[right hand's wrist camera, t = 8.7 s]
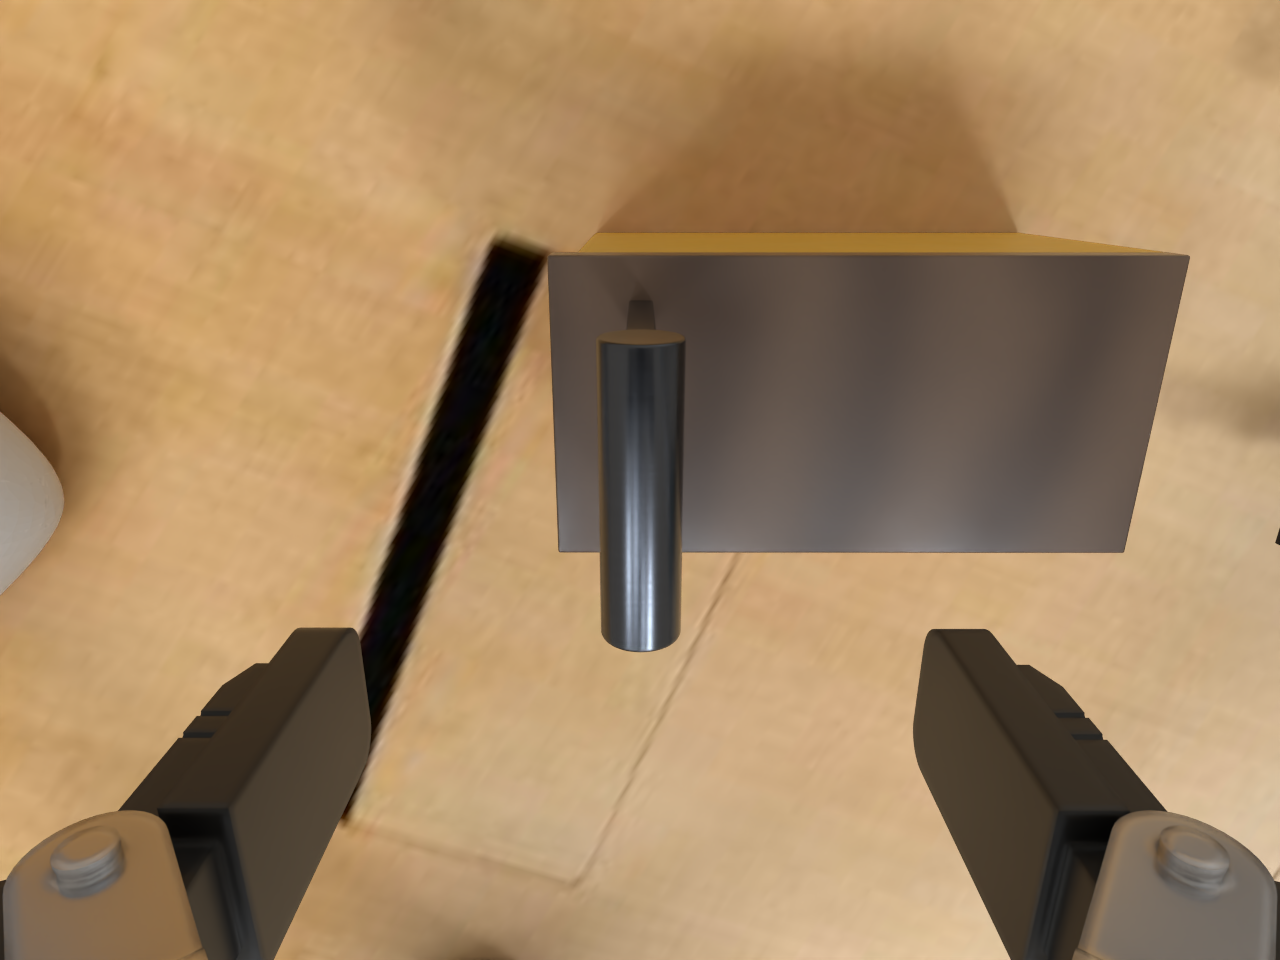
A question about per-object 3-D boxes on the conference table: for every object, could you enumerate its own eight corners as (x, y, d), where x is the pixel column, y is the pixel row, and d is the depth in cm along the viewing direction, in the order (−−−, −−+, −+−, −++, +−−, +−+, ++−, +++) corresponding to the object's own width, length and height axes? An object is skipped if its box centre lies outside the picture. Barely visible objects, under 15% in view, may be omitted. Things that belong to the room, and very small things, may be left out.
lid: (561, 538, 27) (526, 694, 19) (551, 252, 24) (503, 288, 16) (1105, 538, 27) (1308, 694, 19) (1166, 252, 24) (1443, 289, 16)
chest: (598, 447, 37) (584, 537, 27) (594, 232, 34) (577, 251, 24) (986, 447, 37) (1104, 538, 27) (1019, 232, 34) (1165, 251, 24)
